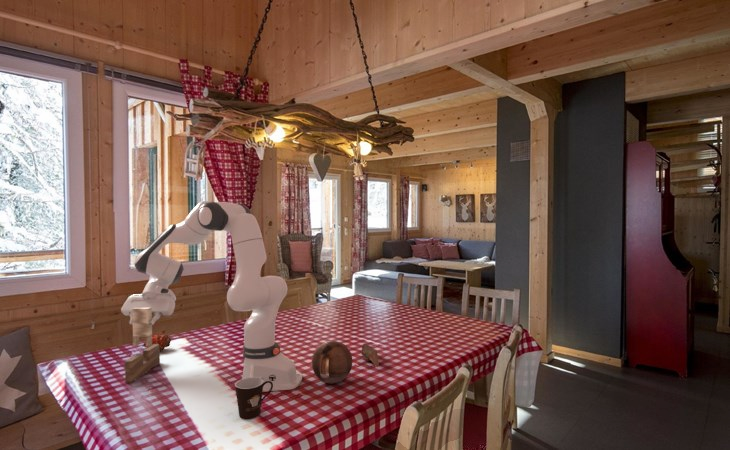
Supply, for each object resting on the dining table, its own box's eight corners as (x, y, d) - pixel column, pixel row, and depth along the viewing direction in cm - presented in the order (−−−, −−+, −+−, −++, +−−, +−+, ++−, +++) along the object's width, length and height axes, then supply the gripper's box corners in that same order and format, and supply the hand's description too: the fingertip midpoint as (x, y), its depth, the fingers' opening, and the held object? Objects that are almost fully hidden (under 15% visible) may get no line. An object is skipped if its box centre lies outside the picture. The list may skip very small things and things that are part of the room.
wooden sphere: (332, 370, 161) (331, 333, 161) (360, 380, 152) (360, 340, 151) (303, 383, 150) (303, 343, 149) (333, 394, 140) (332, 351, 140)
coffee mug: (234, 423, 122) (234, 390, 121) (236, 409, 130) (235, 379, 130) (274, 417, 125) (273, 385, 124) (273, 404, 133) (272, 374, 133)
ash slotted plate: (152, 344, 163) (151, 307, 163) (148, 346, 161) (148, 308, 161) (136, 344, 164) (135, 307, 163) (133, 346, 161) (132, 308, 161)
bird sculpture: (371, 374, 158) (371, 361, 157) (355, 353, 182) (355, 342, 181) (387, 372, 159) (387, 359, 159) (369, 351, 183) (369, 340, 183)
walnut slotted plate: (159, 362, 172) (159, 344, 172) (131, 382, 152) (131, 361, 152) (154, 362, 172) (153, 344, 172) (125, 382, 152) (124, 361, 152)
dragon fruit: (173, 352, 190) (145, 360, 185) (170, 338, 196) (142, 345, 190) (171, 341, 185) (142, 349, 180) (168, 327, 191) (140, 334, 185)
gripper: (126, 290, 169) (111, 319, 159) (175, 290, 168) (163, 319, 159) (133, 298, 173) (119, 327, 164) (180, 298, 173) (169, 327, 163)
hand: (141, 323), depth 161 cm, fingers closed on ash slotted plate, 6 cm apart
